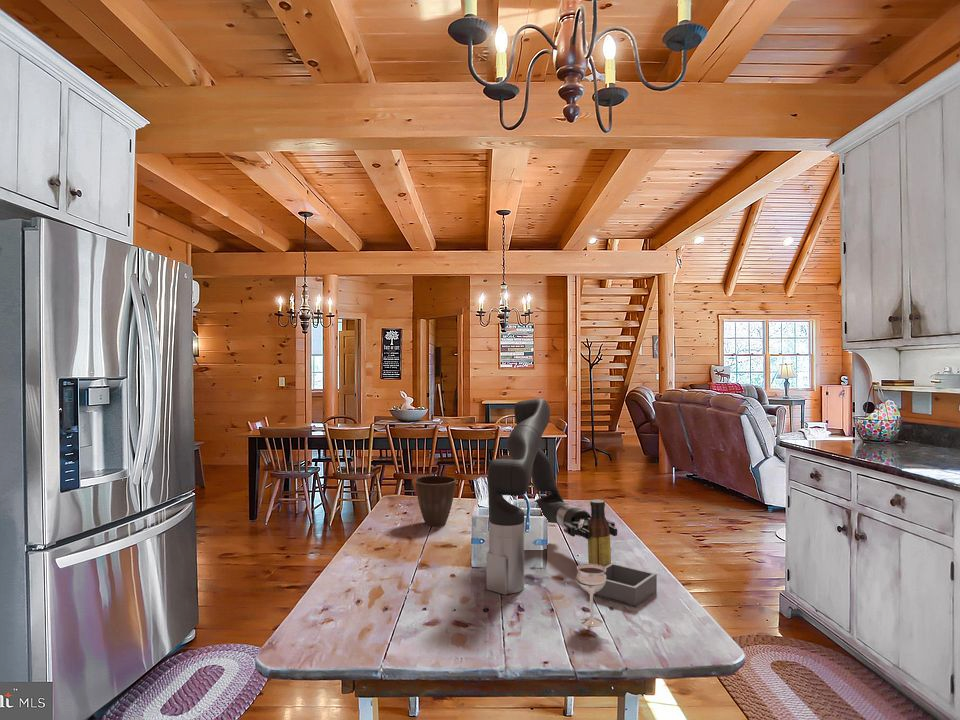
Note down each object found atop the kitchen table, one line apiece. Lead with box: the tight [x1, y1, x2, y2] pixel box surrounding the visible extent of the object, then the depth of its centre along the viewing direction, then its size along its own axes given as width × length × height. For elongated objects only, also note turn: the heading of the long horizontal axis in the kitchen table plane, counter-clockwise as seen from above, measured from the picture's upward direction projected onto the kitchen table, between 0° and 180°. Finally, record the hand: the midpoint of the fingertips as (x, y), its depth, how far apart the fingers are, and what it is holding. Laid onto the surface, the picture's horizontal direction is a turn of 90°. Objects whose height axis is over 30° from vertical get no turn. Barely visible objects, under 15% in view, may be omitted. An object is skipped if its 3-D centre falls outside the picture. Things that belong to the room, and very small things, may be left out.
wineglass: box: [576, 563, 607, 628], centre depth 134 cm, size 7×7×12 cm
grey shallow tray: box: [593, 562, 658, 608], centre depth 151 cm, size 13×13×5 cm
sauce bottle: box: [587, 498, 612, 567], centre depth 166 cm, size 6×6×20 cm
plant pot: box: [414, 475, 457, 527], centre depth 215 cm, size 15×15×16 cm
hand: (602, 534), depth 165 cm, fingers open, 8 cm apart
